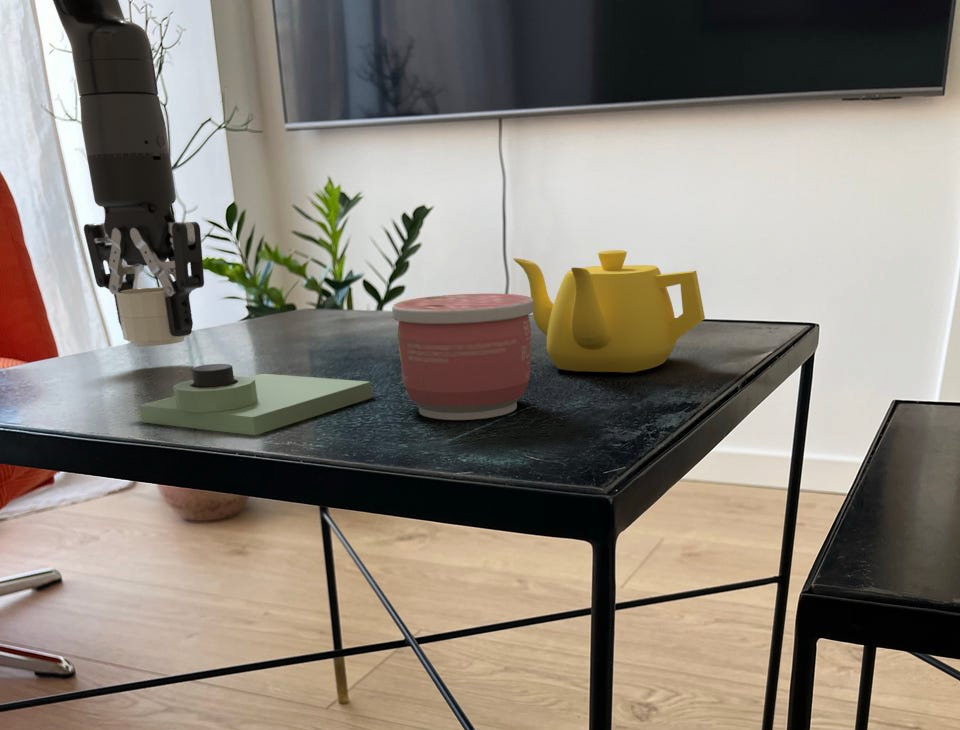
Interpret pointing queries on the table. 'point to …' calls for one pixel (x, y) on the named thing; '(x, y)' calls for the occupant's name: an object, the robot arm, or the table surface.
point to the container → (465, 353)
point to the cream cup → (145, 317)
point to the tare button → (213, 375)
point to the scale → (254, 403)
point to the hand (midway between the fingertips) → (157, 333)
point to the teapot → (613, 314)
